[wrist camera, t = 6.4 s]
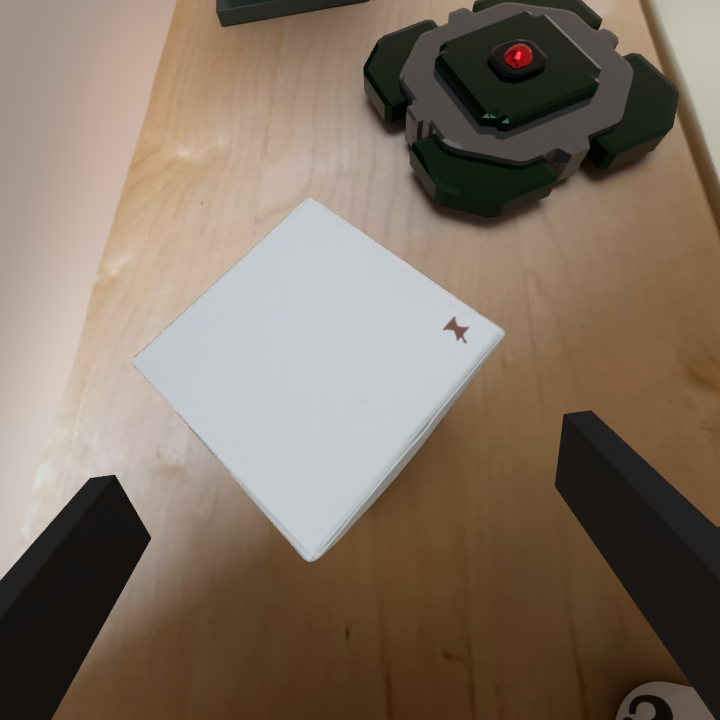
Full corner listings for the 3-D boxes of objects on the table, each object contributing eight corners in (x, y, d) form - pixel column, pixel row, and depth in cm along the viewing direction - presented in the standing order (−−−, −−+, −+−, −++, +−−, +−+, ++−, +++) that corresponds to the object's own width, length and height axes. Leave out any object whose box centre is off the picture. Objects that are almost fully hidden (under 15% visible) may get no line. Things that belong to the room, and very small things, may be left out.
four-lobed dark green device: (453, 246, 25) (466, 196, 20) (348, 83, 30) (342, 17, 26) (680, 149, 26) (739, 82, 21) (538, 9, 32) (562, -66, 27)
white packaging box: (352, 339, 23) (312, 183, 11) (446, 417, 21) (520, 330, 9) (268, 427, 22) (117, 357, 10) (359, 519, 20) (312, 576, 8)
